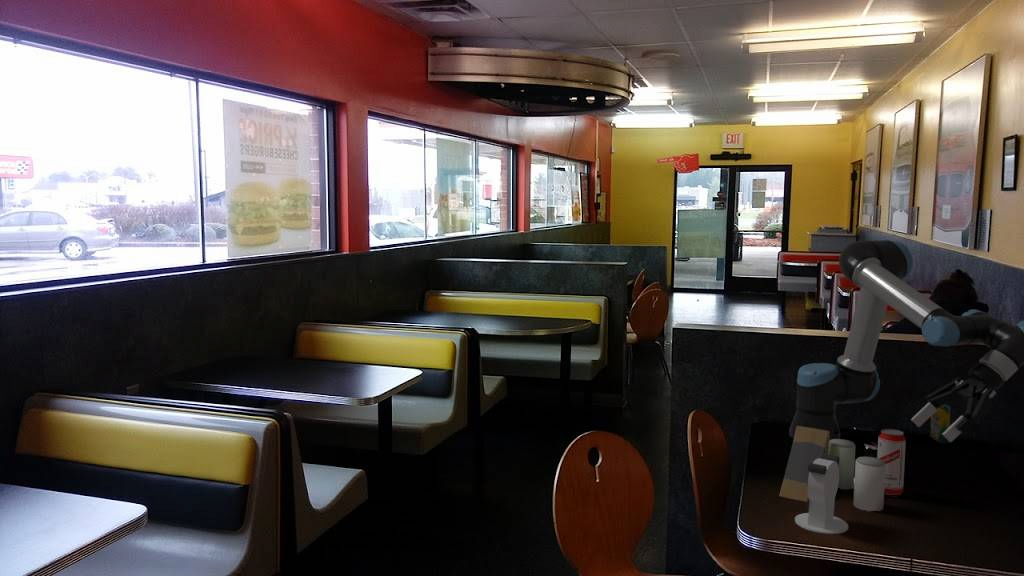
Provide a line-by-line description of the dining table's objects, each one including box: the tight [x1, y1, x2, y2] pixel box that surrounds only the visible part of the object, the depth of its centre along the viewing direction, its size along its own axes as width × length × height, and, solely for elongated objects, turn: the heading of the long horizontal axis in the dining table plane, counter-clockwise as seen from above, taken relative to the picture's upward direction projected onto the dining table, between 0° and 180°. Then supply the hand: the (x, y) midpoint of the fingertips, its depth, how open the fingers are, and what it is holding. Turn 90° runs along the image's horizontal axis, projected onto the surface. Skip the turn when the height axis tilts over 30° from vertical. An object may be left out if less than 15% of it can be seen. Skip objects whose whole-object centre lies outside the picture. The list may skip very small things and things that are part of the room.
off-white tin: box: [853, 456, 886, 512], centre depth 184 cm, size 7×7×12 cm
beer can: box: [876, 428, 907, 496], centre depth 193 cm, size 6×6×16 cm
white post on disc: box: [794, 454, 849, 535], centre depth 174 cm, size 12×11×15 cm
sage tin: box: [829, 438, 856, 490], centre depth 199 cm, size 7×7×12 cm
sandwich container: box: [778, 426, 830, 503], centre depth 195 cm, size 9×15×15 cm, turn 145°
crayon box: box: [929, 404, 952, 445], centre depth 241 cm, size 7×3×12 cm, turn 172°
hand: (930, 430), depth 192 cm, fingers open, 13 cm apart
